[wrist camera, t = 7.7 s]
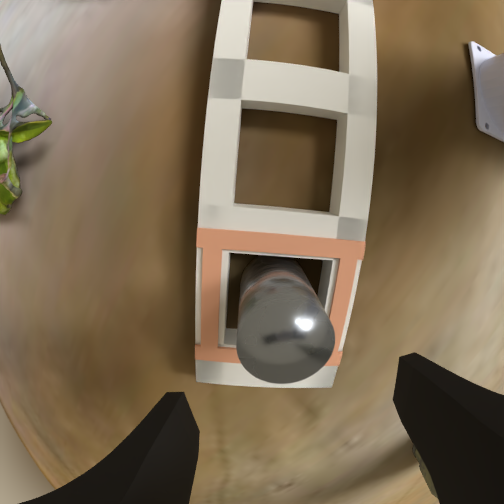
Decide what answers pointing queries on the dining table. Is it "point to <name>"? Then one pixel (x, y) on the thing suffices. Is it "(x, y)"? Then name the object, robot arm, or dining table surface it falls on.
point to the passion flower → (15, 138)
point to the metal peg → (281, 322)
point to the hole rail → (280, 218)
